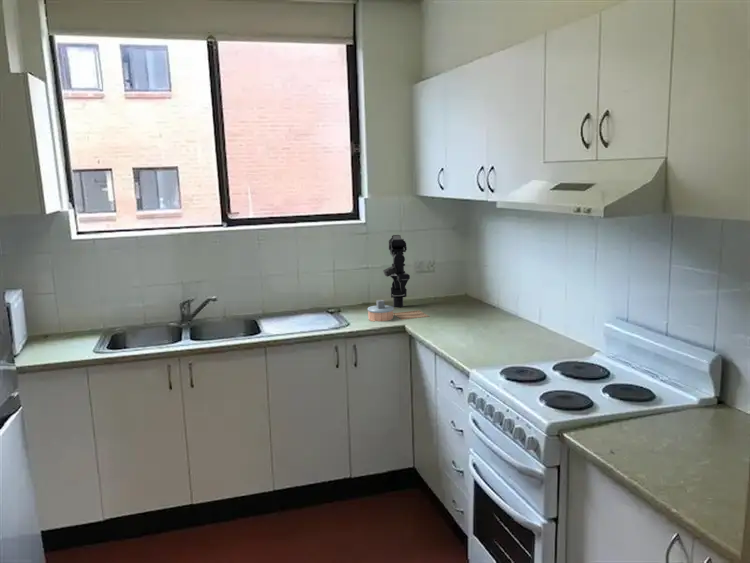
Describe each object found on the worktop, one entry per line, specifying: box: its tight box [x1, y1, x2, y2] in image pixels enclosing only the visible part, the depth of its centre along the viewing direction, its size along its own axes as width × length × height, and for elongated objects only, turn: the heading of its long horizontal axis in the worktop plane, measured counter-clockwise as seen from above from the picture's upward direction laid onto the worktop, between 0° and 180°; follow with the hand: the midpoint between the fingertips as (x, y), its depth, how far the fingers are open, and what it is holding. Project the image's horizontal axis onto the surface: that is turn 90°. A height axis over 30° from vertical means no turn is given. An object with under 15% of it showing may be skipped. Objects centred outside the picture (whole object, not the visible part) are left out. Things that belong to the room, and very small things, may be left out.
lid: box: [367, 299, 395, 313], centre depth 335 cm, size 14×14×5 cm
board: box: [393, 309, 430, 321], centre depth 341 cm, size 16×16×1 cm
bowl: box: [367, 310, 394, 322], centre depth 336 cm, size 13×13×5 cm
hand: (399, 289), depth 346 cm, fingers open, 9 cm apart
